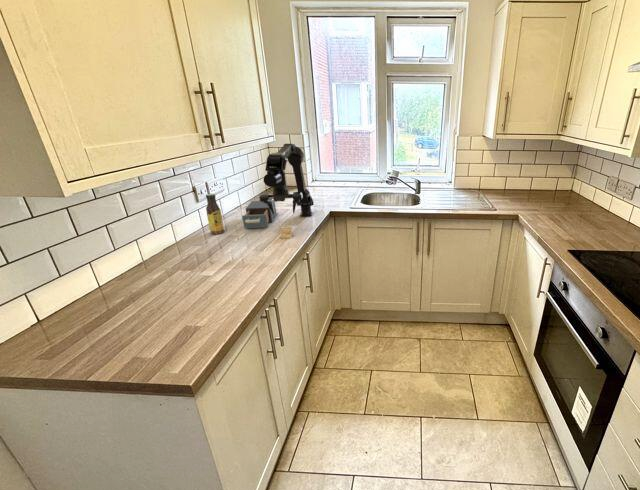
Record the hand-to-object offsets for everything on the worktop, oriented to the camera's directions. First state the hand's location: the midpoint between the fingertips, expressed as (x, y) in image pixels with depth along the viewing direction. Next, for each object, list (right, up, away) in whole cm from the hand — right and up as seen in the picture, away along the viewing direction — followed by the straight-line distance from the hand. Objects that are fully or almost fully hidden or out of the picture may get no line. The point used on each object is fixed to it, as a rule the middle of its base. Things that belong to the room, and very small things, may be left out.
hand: (283, 213), depth 152 cm
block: (0, -11, +5) cm, 12 cm away
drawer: (-20, -5, +16) cm, 26 cm away
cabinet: (-23, -1, +29) cm, 36 cm away
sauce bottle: (-37, -9, +8) cm, 39 cm away
